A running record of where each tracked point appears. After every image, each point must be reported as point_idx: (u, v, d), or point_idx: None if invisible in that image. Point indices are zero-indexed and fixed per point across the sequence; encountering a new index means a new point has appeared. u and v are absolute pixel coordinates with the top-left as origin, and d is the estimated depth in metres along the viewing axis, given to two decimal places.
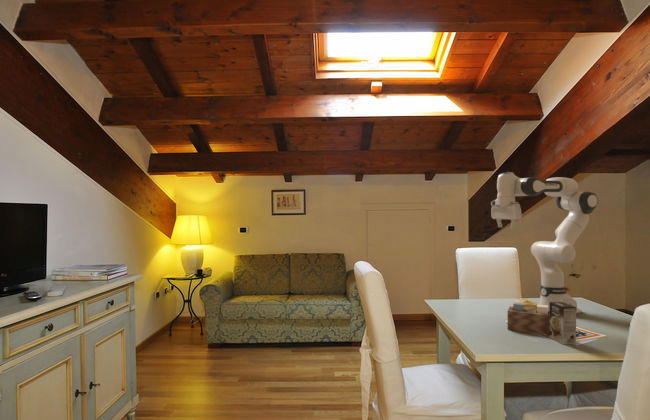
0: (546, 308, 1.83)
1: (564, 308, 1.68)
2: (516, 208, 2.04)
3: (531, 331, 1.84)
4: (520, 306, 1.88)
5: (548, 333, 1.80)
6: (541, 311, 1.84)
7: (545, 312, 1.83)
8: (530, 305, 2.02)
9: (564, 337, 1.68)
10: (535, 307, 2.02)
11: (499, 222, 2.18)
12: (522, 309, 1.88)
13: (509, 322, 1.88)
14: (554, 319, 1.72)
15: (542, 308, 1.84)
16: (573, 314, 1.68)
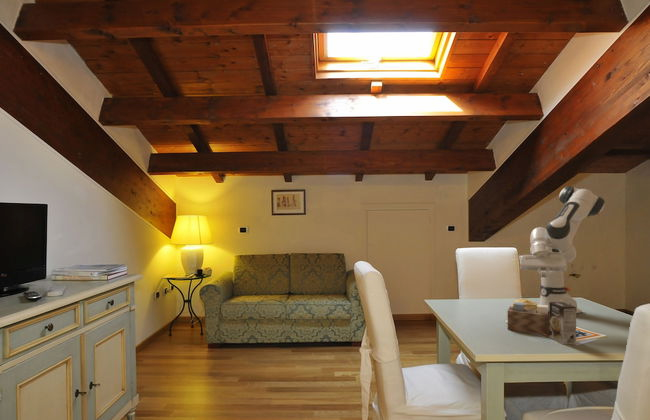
0: (546, 308, 1.83)
1: (564, 308, 1.68)
2: None
3: (531, 331, 1.84)
4: (520, 306, 1.88)
5: (548, 333, 1.80)
6: (541, 311, 1.84)
7: (545, 312, 1.83)
8: (530, 305, 2.02)
9: (564, 337, 1.68)
10: (535, 307, 2.02)
11: None
12: (522, 309, 1.88)
13: (509, 322, 1.88)
14: (554, 319, 1.72)
15: (542, 308, 1.84)
16: (573, 314, 1.68)
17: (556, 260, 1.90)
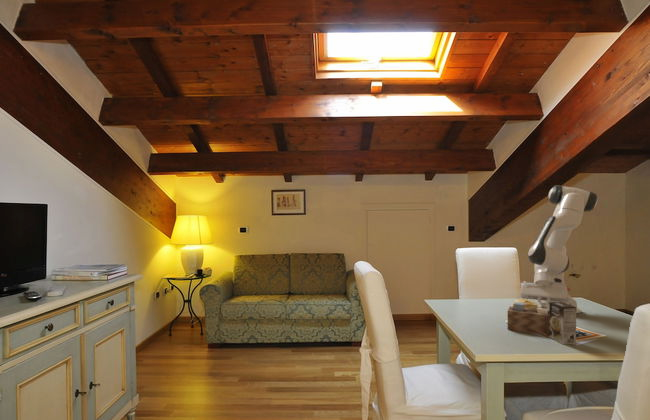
0: (546, 310, 1.83)
1: (564, 308, 1.68)
2: None
3: (531, 331, 1.84)
4: (520, 306, 1.88)
5: (548, 333, 1.80)
6: (541, 313, 1.84)
7: None
8: (530, 305, 2.02)
9: (564, 337, 1.68)
10: (535, 307, 2.02)
11: None
12: (522, 309, 1.88)
13: (509, 322, 1.88)
14: (554, 319, 1.72)
15: (542, 310, 1.84)
16: (573, 314, 1.68)
17: (558, 290, 1.86)
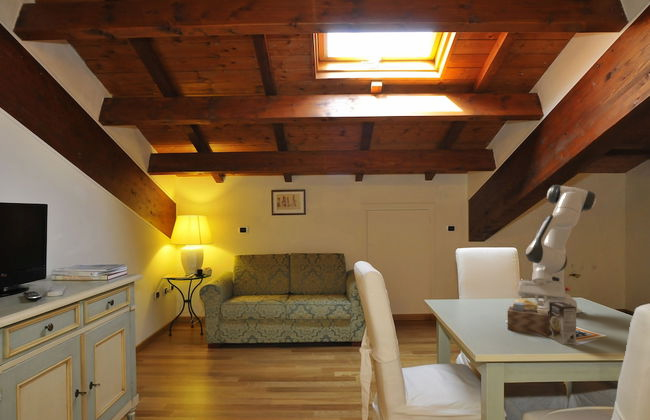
0: (546, 311, 1.83)
1: (564, 308, 1.68)
2: None
3: (531, 331, 1.84)
4: (520, 306, 1.88)
5: (548, 333, 1.80)
6: None
7: None
8: (530, 305, 2.02)
9: (564, 337, 1.68)
10: (535, 307, 2.02)
11: None
12: (522, 309, 1.88)
13: (509, 322, 1.88)
14: (554, 319, 1.72)
15: (542, 311, 1.84)
16: (573, 314, 1.68)
17: (555, 289, 1.87)
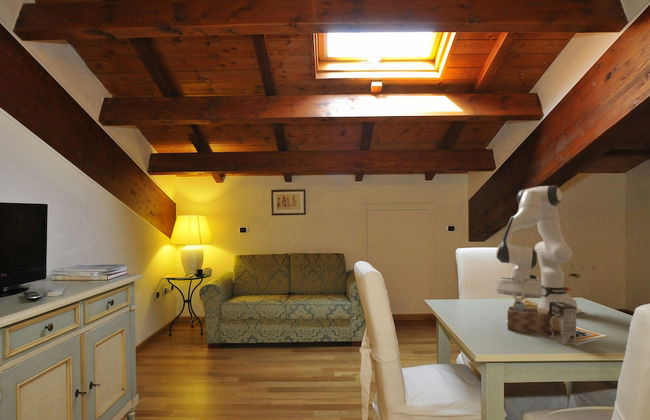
0: (546, 311, 1.83)
1: (564, 308, 1.68)
2: None
3: (531, 331, 1.84)
4: (520, 306, 1.88)
5: (548, 333, 1.80)
6: None
7: None
8: (530, 305, 2.02)
9: (564, 337, 1.68)
10: (535, 307, 2.02)
11: None
12: (522, 309, 1.88)
13: (509, 322, 1.88)
14: (554, 319, 1.72)
15: (542, 311, 1.84)
16: (573, 314, 1.68)
17: (532, 287, 1.92)
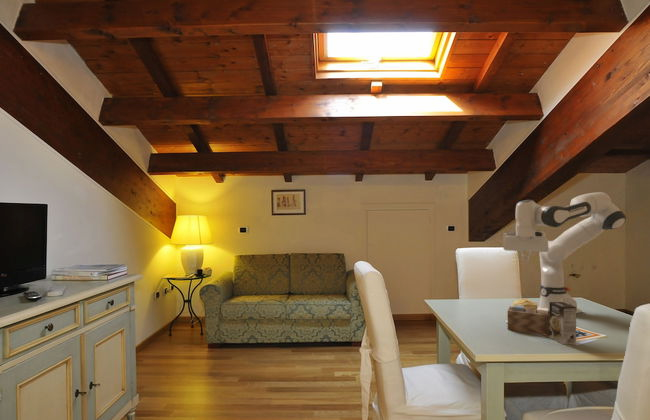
0: (546, 311, 1.83)
1: (564, 308, 1.68)
2: None
3: (531, 331, 1.84)
4: (520, 309, 1.88)
5: (548, 333, 1.80)
6: None
7: None
8: (530, 305, 2.02)
9: (564, 337, 1.68)
10: (535, 307, 2.02)
11: (528, 255, 1.96)
12: None
13: (509, 322, 1.88)
14: (554, 319, 1.72)
15: (542, 311, 1.84)
16: (573, 314, 1.68)
17: (538, 244, 1.92)
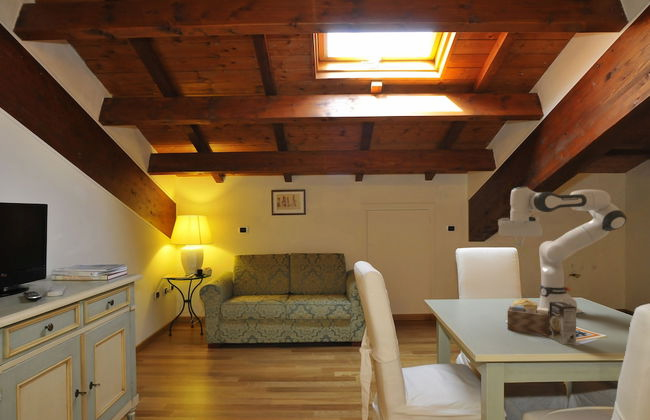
0: (546, 311, 1.83)
1: (564, 308, 1.68)
2: None
3: (531, 331, 1.84)
4: (520, 309, 1.88)
5: (548, 333, 1.80)
6: None
7: None
8: (530, 305, 2.02)
9: (564, 337, 1.68)
10: (535, 307, 2.02)
11: None
12: None
13: (509, 322, 1.88)
14: (554, 319, 1.72)
15: (542, 311, 1.84)
16: (573, 314, 1.68)
17: (532, 228, 2.00)
